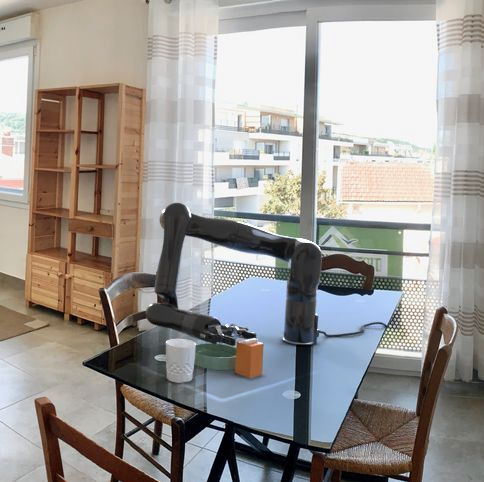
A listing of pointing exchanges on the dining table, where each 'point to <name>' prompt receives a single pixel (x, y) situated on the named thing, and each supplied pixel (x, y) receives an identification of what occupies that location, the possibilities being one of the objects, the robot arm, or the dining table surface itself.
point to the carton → (249, 357)
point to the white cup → (180, 360)
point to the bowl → (215, 356)
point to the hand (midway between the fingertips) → (245, 339)
